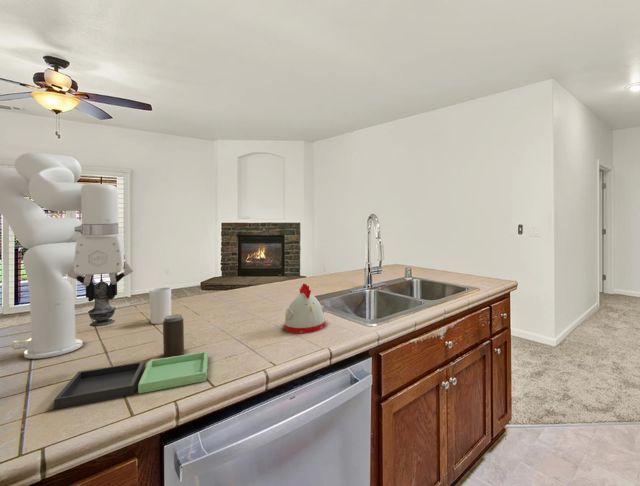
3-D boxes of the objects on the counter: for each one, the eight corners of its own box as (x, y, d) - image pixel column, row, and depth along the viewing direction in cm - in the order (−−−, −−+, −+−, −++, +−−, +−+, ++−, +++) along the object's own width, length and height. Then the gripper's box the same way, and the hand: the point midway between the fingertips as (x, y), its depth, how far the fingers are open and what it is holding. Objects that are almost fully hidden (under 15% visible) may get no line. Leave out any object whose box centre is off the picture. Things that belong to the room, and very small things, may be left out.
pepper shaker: (162, 359, 101) (161, 320, 101) (164, 352, 106) (164, 315, 106) (183, 355, 104) (182, 317, 103) (184, 349, 108) (184, 312, 108)
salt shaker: (121, 319, 100) (120, 276, 100) (105, 326, 95) (104, 281, 94) (99, 319, 100) (98, 276, 100) (81, 326, 94) (80, 281, 94)
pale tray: (138, 393, 83) (138, 384, 83) (149, 368, 96) (149, 360, 96) (206, 380, 89) (205, 372, 89) (207, 358, 102) (207, 351, 102)
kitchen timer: (292, 335, 120) (292, 290, 119) (279, 324, 131) (278, 283, 130) (331, 327, 128) (331, 284, 127) (315, 317, 139) (315, 278, 138)
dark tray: (54, 409, 76) (53, 399, 76) (78, 379, 89) (78, 371, 89) (133, 394, 82) (133, 385, 82) (145, 368, 95) (145, 360, 95)
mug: (172, 321, 134) (172, 289, 134) (150, 325, 130) (150, 292, 130) (169, 315, 142) (168, 284, 142) (148, 318, 138) (147, 287, 138)
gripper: (53, 232, 89) (55, 306, 90) (135, 231, 97) (136, 299, 98) (65, 230, 96) (66, 299, 97) (141, 229, 103) (142, 293, 104)
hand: (102, 298), depth 97 cm, fingers closed on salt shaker, 3 cm apart
